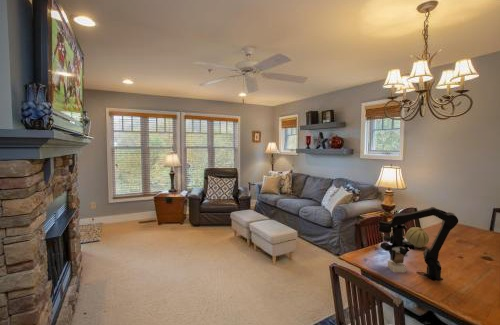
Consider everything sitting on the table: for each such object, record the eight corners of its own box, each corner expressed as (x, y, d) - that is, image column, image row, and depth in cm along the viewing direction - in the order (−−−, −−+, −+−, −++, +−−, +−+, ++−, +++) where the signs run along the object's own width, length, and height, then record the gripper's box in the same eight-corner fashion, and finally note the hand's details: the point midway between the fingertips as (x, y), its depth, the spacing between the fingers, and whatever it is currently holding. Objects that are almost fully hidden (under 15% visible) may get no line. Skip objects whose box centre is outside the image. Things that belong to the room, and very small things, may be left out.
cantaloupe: (408, 241, 199) (408, 222, 198) (430, 246, 189) (431, 227, 188) (402, 246, 189) (403, 227, 188) (426, 252, 179) (427, 232, 177)
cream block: (405, 272, 152) (405, 266, 151) (393, 272, 152) (393, 266, 152) (399, 267, 159) (399, 261, 158) (387, 266, 159) (387, 260, 159)
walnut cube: (403, 262, 153) (403, 254, 152) (395, 263, 152) (395, 255, 152) (397, 259, 158) (398, 251, 157) (390, 259, 157) (390, 251, 157)
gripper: (402, 229, 163) (401, 253, 164) (375, 231, 161) (374, 254, 162) (415, 236, 152) (414, 261, 153) (386, 237, 150) (385, 262, 151)
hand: (396, 259), depth 155 cm, fingers closed on walnut cube, 5 cm apart
